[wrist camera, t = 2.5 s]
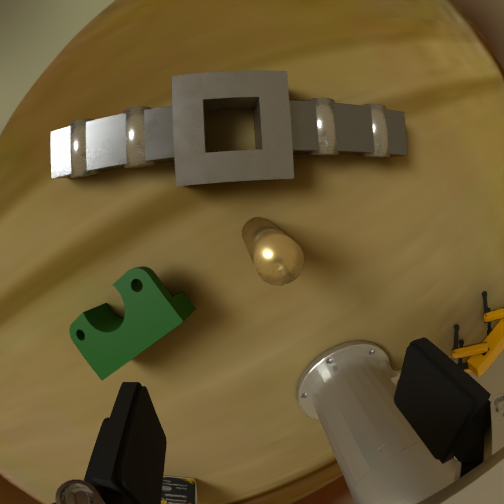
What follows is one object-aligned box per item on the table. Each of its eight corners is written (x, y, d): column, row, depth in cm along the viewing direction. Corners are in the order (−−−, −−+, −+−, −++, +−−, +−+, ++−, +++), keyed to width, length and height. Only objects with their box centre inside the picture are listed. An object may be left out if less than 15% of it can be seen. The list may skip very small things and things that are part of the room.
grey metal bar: (385, 96, 25) (406, 87, 21) (392, 179, 27) (414, 180, 23) (66, 113, 22) (46, 105, 18) (68, 201, 24) (48, 205, 20)
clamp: (159, 265, 31) (156, 248, 23) (191, 309, 31) (200, 308, 23) (78, 327, 27) (48, 332, 19) (110, 371, 27) (90, 392, 19)
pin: (273, 216, 27) (304, 235, 17) (274, 247, 28) (304, 282, 18) (241, 218, 27) (254, 239, 17) (243, 250, 27) (256, 287, 18)
